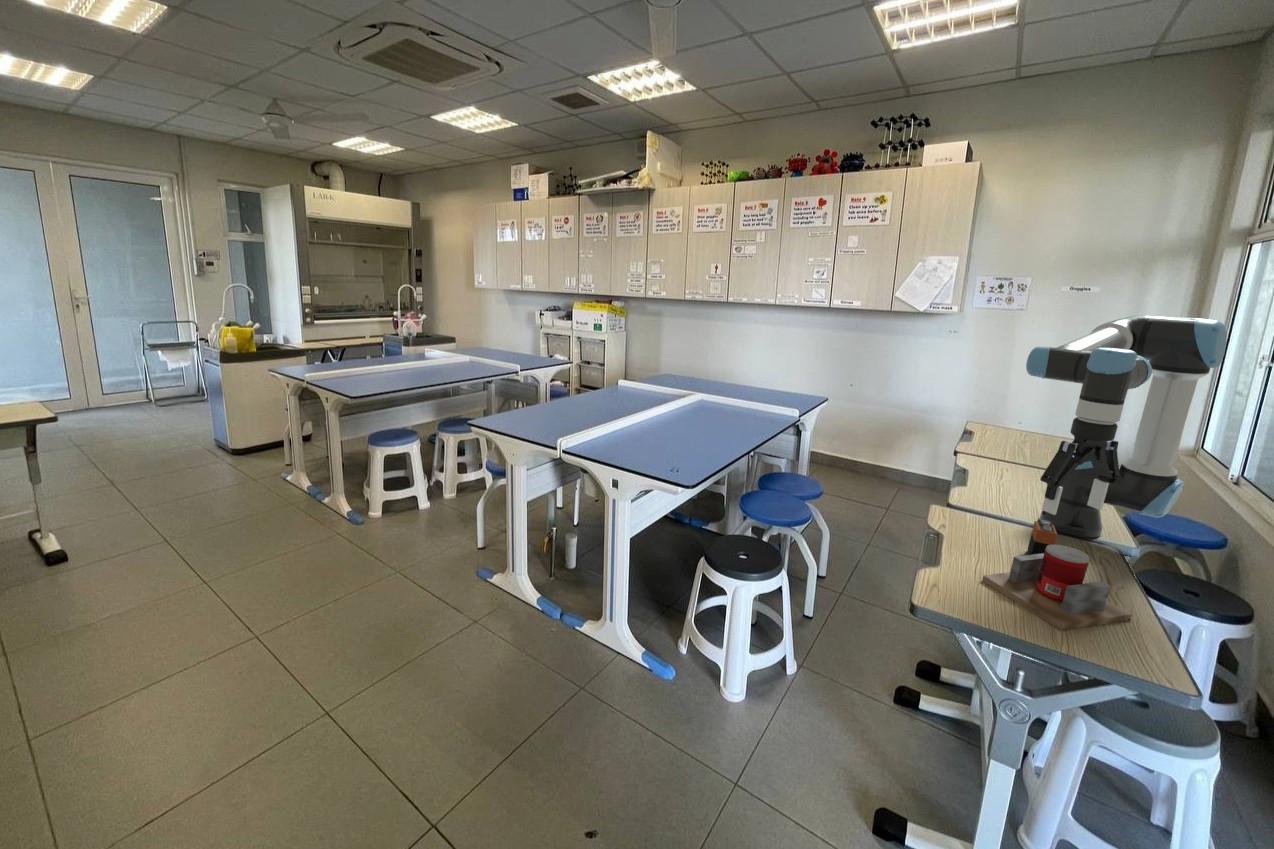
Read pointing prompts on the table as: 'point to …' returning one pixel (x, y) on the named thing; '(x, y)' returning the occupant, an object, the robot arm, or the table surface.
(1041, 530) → the battery
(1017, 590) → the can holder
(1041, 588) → the canned food
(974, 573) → the table surface
